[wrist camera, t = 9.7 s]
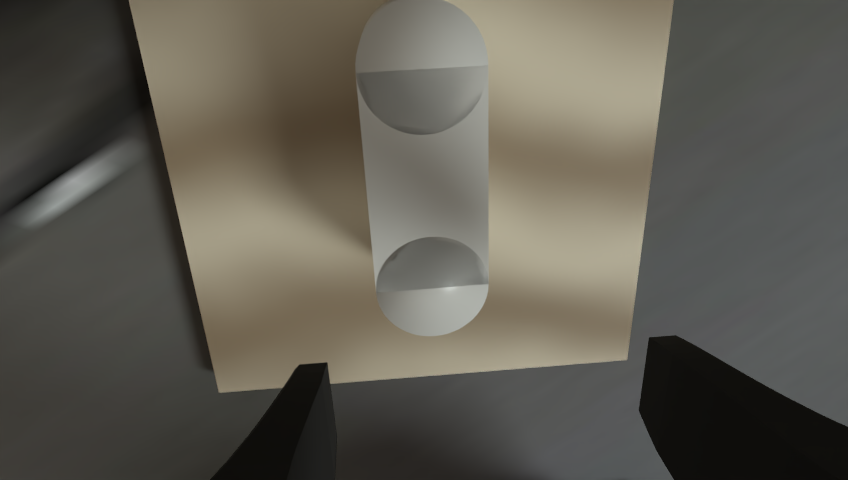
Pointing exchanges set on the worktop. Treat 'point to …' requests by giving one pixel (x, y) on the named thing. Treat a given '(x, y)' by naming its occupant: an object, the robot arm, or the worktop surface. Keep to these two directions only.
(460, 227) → the usb connector
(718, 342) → the worktop surface
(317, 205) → the wood pad
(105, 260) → the worktop surface
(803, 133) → the worktop surface
